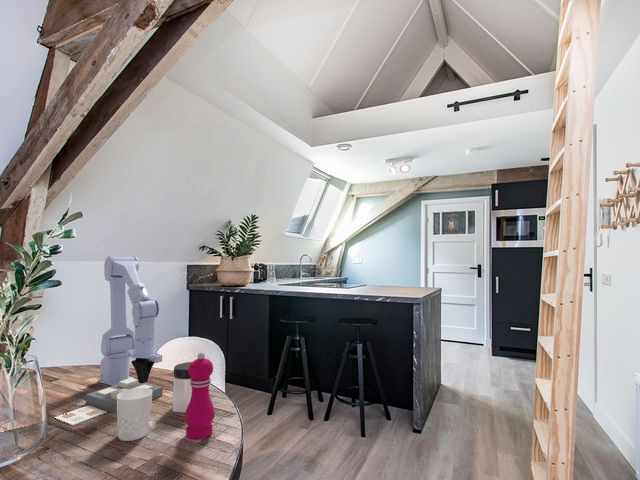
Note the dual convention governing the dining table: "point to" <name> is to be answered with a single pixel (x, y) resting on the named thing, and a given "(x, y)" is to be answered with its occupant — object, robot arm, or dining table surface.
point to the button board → (110, 403)
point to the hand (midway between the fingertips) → (143, 382)
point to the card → (80, 415)
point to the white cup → (133, 413)
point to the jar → (181, 387)
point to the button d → (145, 386)
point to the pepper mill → (200, 400)
